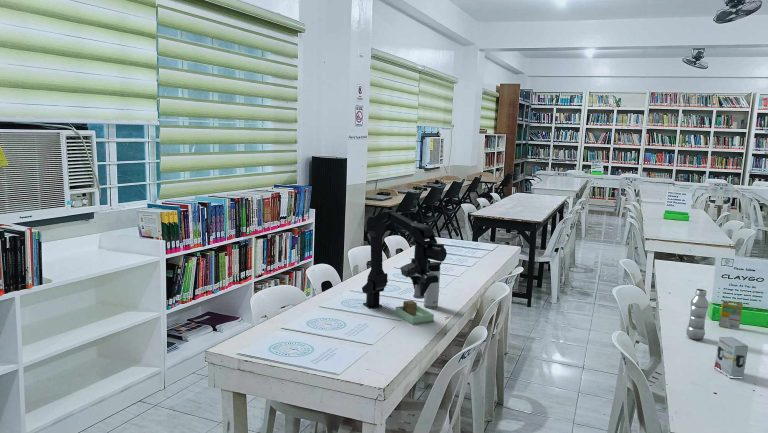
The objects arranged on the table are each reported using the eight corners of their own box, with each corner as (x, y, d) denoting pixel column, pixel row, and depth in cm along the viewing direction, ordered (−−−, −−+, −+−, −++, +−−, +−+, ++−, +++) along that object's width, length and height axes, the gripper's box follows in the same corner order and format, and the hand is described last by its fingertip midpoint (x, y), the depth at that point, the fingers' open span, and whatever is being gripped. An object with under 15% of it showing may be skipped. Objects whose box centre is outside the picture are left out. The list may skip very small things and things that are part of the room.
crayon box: (738, 328, 245) (742, 301, 243) (739, 330, 242) (743, 303, 240) (718, 324, 248) (722, 298, 246) (719, 326, 245) (723, 300, 243)
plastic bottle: (702, 337, 231) (708, 289, 228) (705, 343, 225) (712, 293, 222) (684, 334, 233) (690, 286, 230) (687, 340, 227) (693, 291, 224)
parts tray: (395, 313, 242) (395, 306, 241) (415, 311, 247) (415, 304, 246) (412, 324, 230) (412, 317, 229) (433, 321, 235) (433, 314, 234)
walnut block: (402, 312, 242) (403, 301, 241) (411, 311, 244) (411, 300, 243) (407, 315, 238) (408, 304, 238) (416, 314, 240) (416, 302, 240)
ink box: (713, 368, 201) (718, 335, 199) (726, 368, 201) (731, 336, 199) (730, 379, 192) (735, 345, 190) (743, 379, 193) (749, 345, 191)
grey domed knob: (411, 296, 234) (411, 284, 233) (420, 294, 236) (421, 283, 236) (417, 299, 230) (417, 287, 229) (426, 298, 232) (427, 286, 232)
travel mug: (437, 309, 250) (440, 264, 247) (422, 307, 252) (425, 263, 248) (439, 305, 256) (442, 261, 253) (424, 303, 258) (427, 260, 254)
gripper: (392, 253, 235) (390, 290, 237) (416, 263, 219) (413, 303, 221) (416, 251, 240) (414, 287, 243) (440, 261, 224) (438, 300, 226)
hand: (419, 294), depth 233 cm, fingers closed on grey domed knob, 4 cm apart
